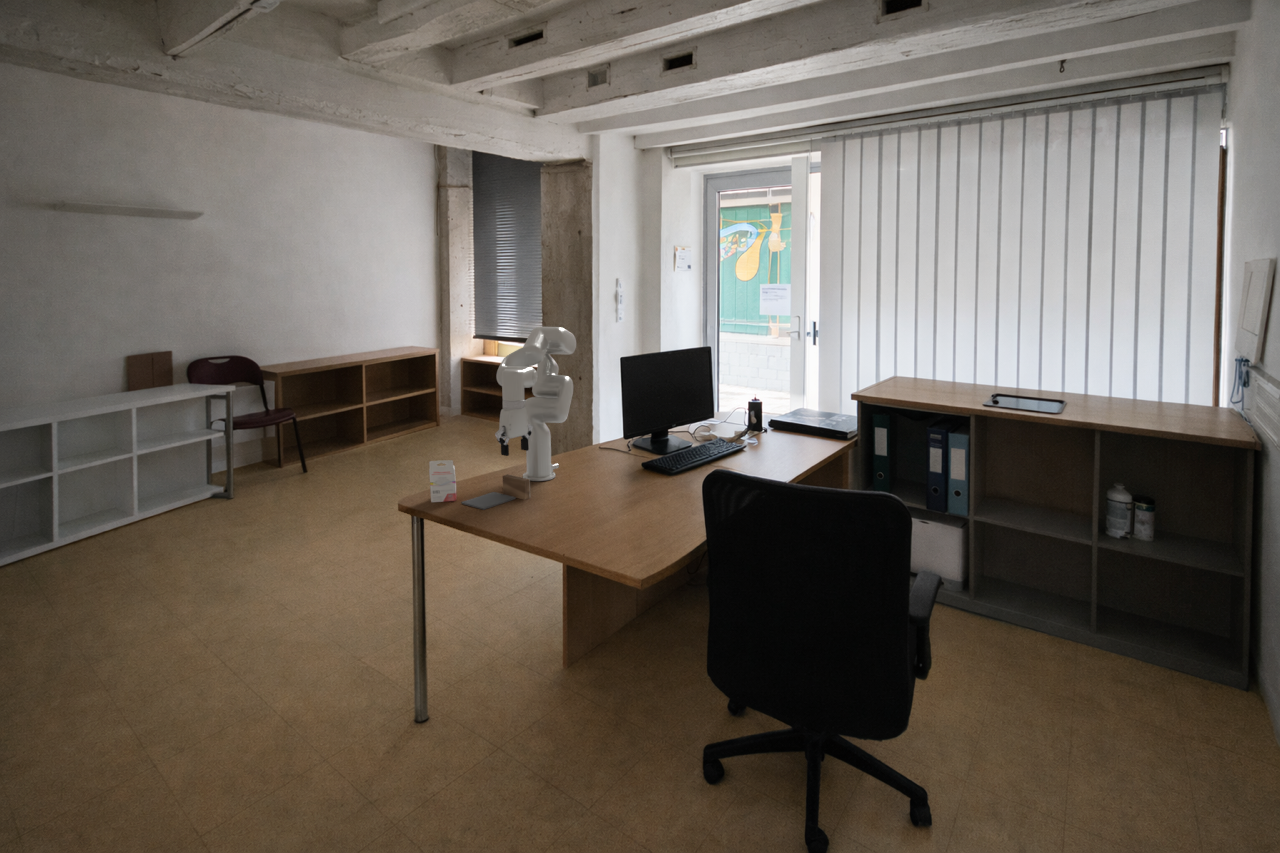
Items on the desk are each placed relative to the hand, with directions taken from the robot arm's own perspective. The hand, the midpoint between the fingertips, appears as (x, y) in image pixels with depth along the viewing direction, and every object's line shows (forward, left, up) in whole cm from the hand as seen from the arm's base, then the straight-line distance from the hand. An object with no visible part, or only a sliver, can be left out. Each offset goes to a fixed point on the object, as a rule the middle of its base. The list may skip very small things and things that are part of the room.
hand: (515, 452), depth 248 cm
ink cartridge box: (+18, -18, -16) cm, 30 cm away
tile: (0, 0, -16) cm, 16 cm away
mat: (+10, -4, -16) cm, 19 cm away
